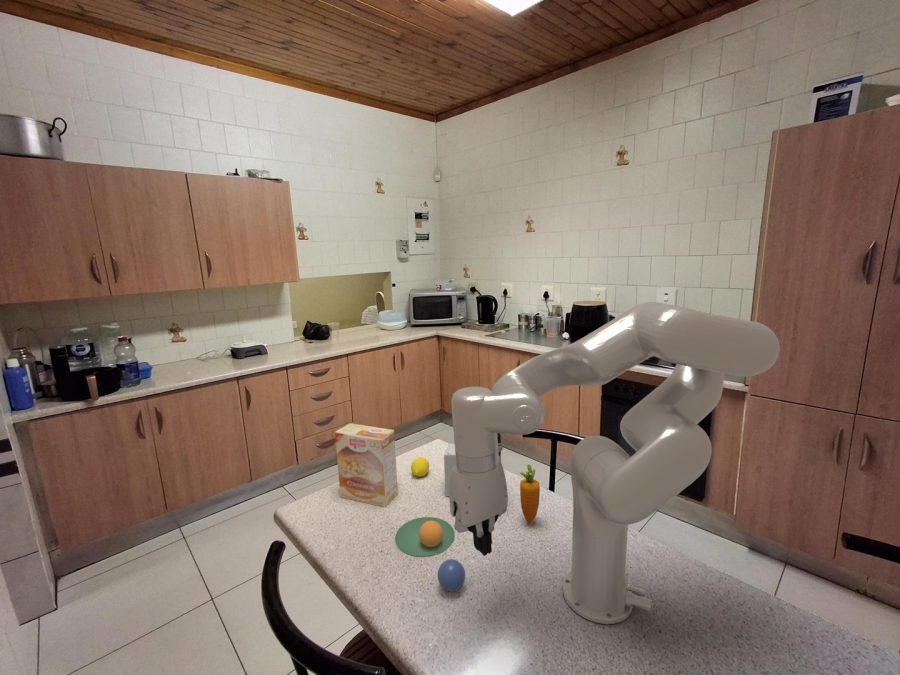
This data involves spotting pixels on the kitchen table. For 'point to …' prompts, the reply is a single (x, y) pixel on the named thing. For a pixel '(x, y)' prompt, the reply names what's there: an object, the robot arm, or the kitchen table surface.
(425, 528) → the object ball
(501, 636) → the kitchen table surface
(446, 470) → the supplement box
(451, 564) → the blue ball
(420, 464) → the lemon
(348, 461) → the coffeecake box
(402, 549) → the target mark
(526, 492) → the carrot
